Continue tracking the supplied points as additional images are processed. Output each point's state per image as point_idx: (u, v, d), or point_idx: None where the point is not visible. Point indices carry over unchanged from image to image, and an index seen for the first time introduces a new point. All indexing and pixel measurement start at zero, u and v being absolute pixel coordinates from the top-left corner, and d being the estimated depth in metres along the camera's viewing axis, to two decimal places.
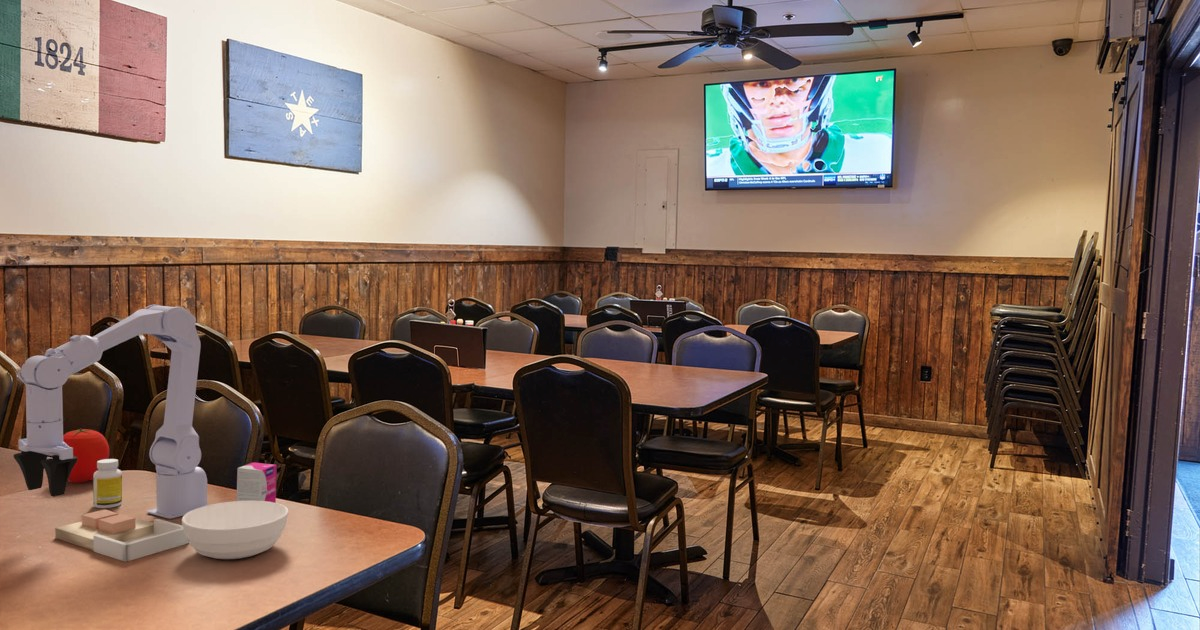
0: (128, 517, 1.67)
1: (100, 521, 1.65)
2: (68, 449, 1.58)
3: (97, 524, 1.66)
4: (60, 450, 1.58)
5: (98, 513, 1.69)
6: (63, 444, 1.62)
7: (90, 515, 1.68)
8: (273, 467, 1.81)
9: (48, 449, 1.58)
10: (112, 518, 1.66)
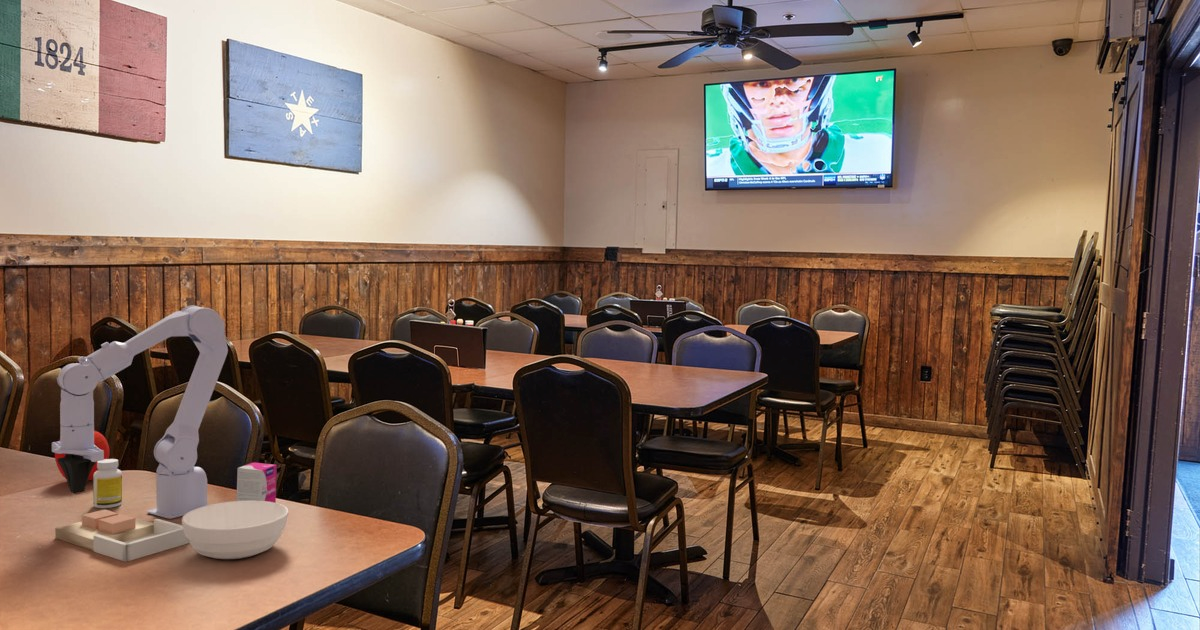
0: (128, 517, 1.67)
1: (100, 521, 1.65)
2: (99, 452, 1.68)
3: (97, 524, 1.66)
4: (92, 452, 1.68)
5: (98, 513, 1.69)
6: (94, 447, 1.72)
7: (90, 515, 1.68)
8: (273, 467, 1.81)
9: (81, 452, 1.68)
10: (112, 518, 1.66)
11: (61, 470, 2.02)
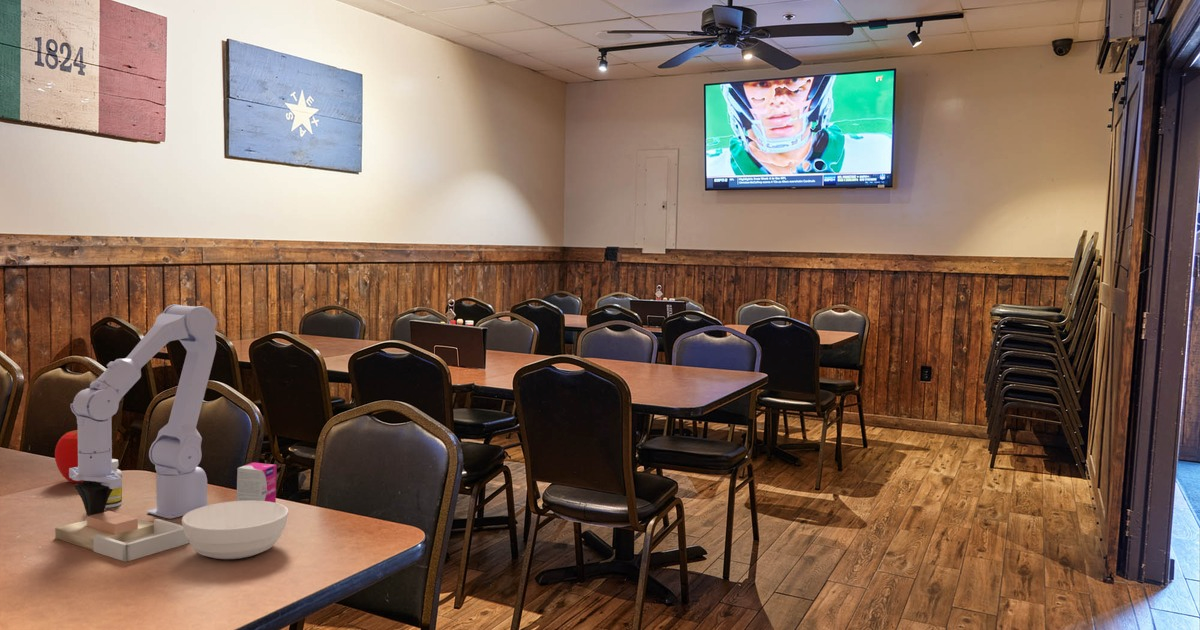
0: (130, 518, 1.67)
1: (102, 522, 1.65)
2: (117, 479, 1.66)
3: None
4: (110, 480, 1.65)
5: (103, 514, 1.68)
6: (112, 473, 1.70)
7: (95, 516, 1.67)
8: (273, 467, 1.81)
9: (99, 479, 1.66)
10: (114, 519, 1.66)
11: (61, 470, 2.02)
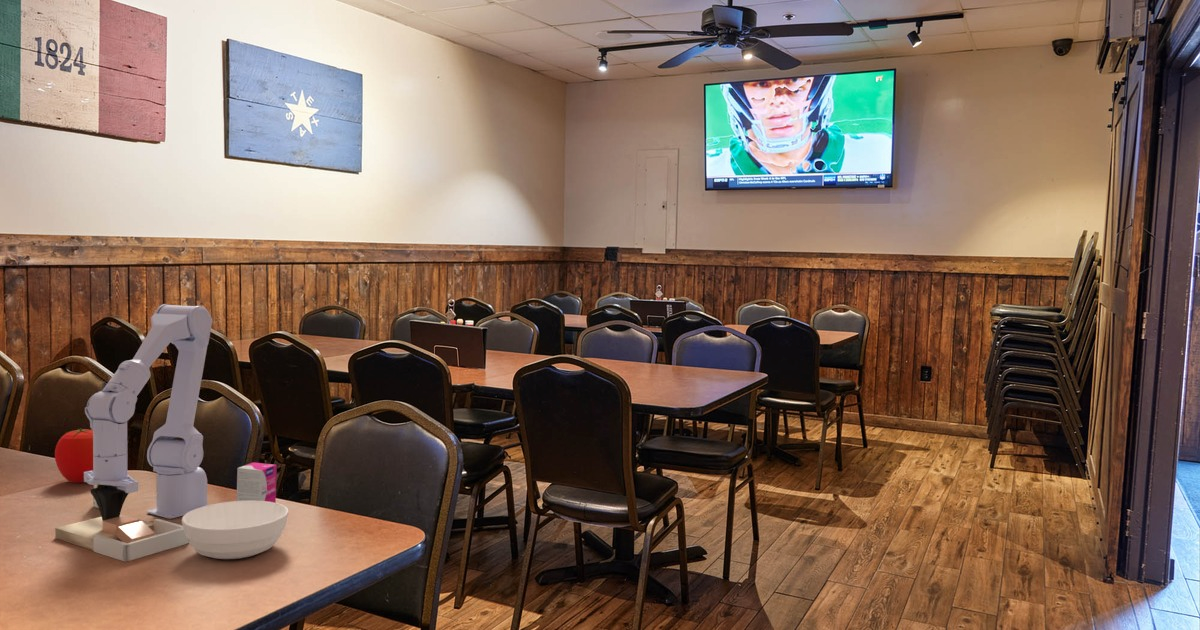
0: (147, 530, 1.64)
1: (120, 529, 1.62)
2: (134, 483, 1.63)
3: None
4: (126, 484, 1.62)
5: (119, 519, 1.66)
6: (128, 477, 1.67)
7: (111, 521, 1.65)
8: (273, 467, 1.81)
9: (114, 483, 1.63)
10: (132, 527, 1.63)
11: (61, 470, 2.02)
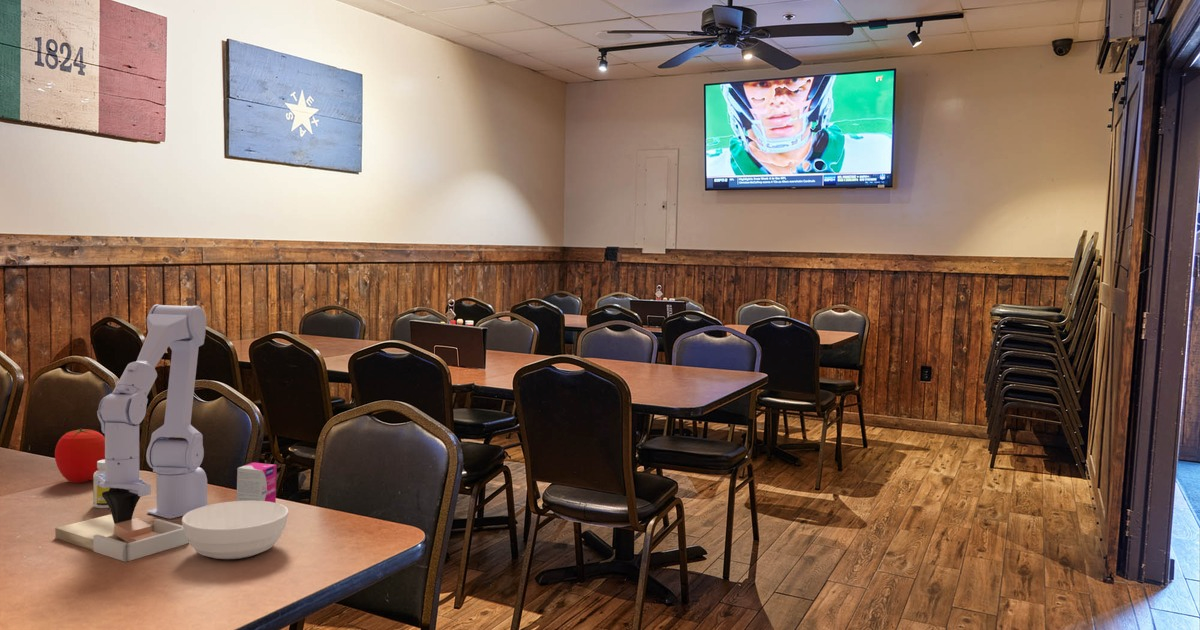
0: None
1: (129, 539, 1.61)
2: (146, 486, 1.61)
3: None
4: (139, 487, 1.61)
5: (131, 523, 1.64)
6: (140, 480, 1.65)
7: (123, 525, 1.63)
8: (273, 467, 1.81)
9: (127, 486, 1.61)
10: (141, 536, 1.62)
11: (61, 470, 2.02)
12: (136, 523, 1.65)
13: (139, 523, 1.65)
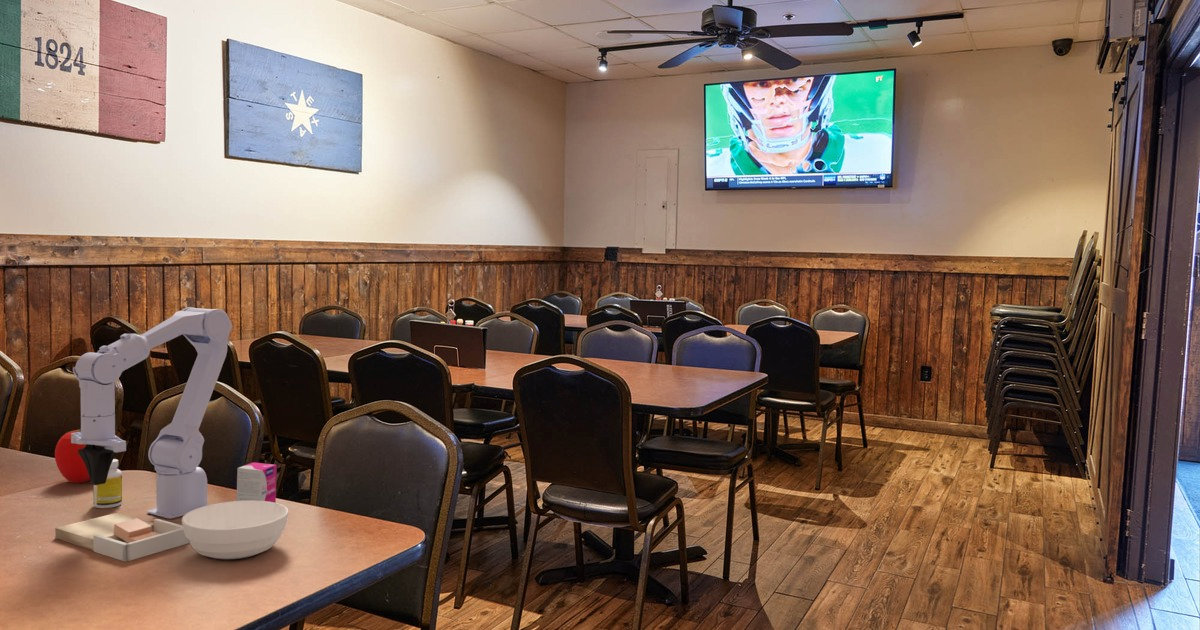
0: None
1: (129, 539, 1.61)
2: (122, 442, 1.65)
3: None
4: (114, 443, 1.64)
5: (131, 524, 1.64)
6: (115, 437, 1.69)
7: (123, 526, 1.63)
8: (273, 467, 1.81)
9: (102, 442, 1.65)
10: (141, 536, 1.62)
11: (61, 470, 2.02)
12: (136, 523, 1.65)
13: (139, 523, 1.65)
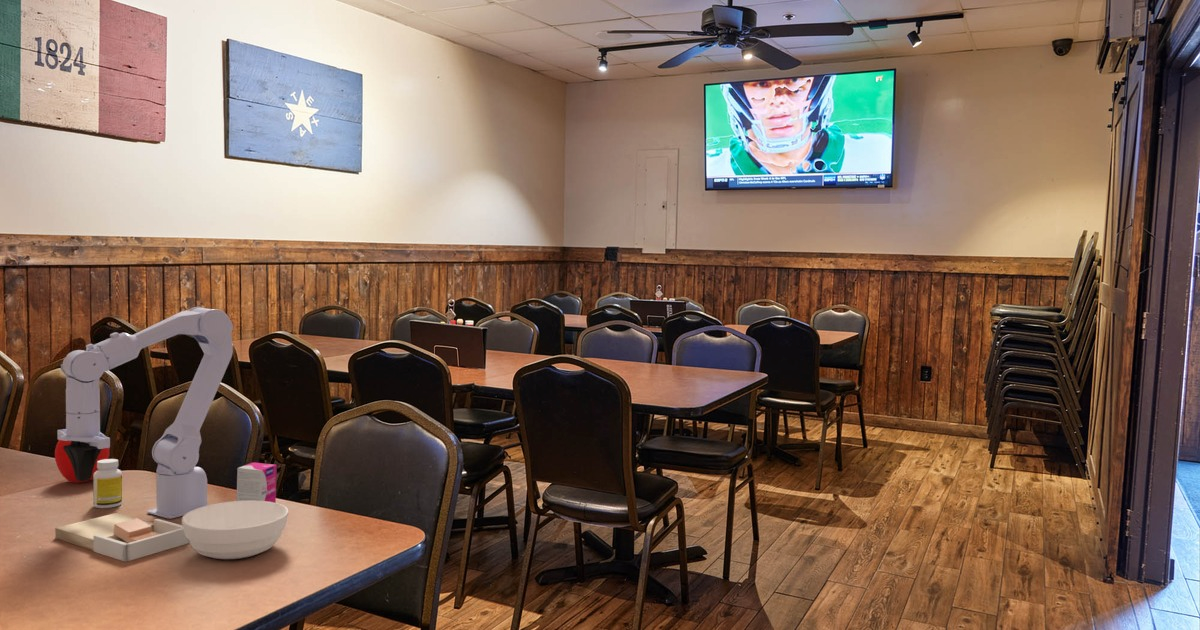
0: None
1: (129, 539, 1.61)
2: (105, 439, 1.67)
3: None
4: (98, 440, 1.66)
5: (131, 524, 1.64)
6: (100, 434, 1.71)
7: (123, 526, 1.63)
8: (273, 467, 1.81)
9: (87, 439, 1.67)
10: (141, 536, 1.62)
11: (61, 470, 2.02)
12: (136, 523, 1.65)
13: (139, 523, 1.65)
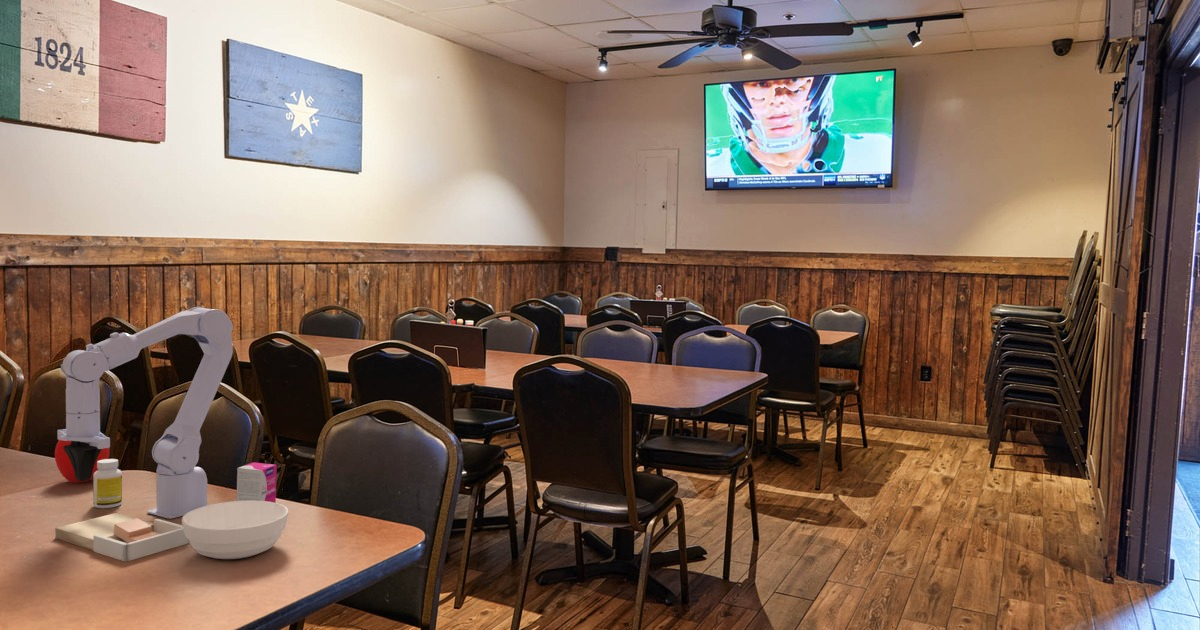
0: None
1: (129, 539, 1.61)
2: (105, 439, 1.67)
3: None
4: (98, 440, 1.66)
5: (131, 524, 1.64)
6: (100, 434, 1.71)
7: (123, 526, 1.63)
8: (273, 467, 1.81)
9: (87, 439, 1.67)
10: (141, 536, 1.62)
11: (61, 470, 2.02)
12: (136, 523, 1.65)
13: (139, 523, 1.65)
